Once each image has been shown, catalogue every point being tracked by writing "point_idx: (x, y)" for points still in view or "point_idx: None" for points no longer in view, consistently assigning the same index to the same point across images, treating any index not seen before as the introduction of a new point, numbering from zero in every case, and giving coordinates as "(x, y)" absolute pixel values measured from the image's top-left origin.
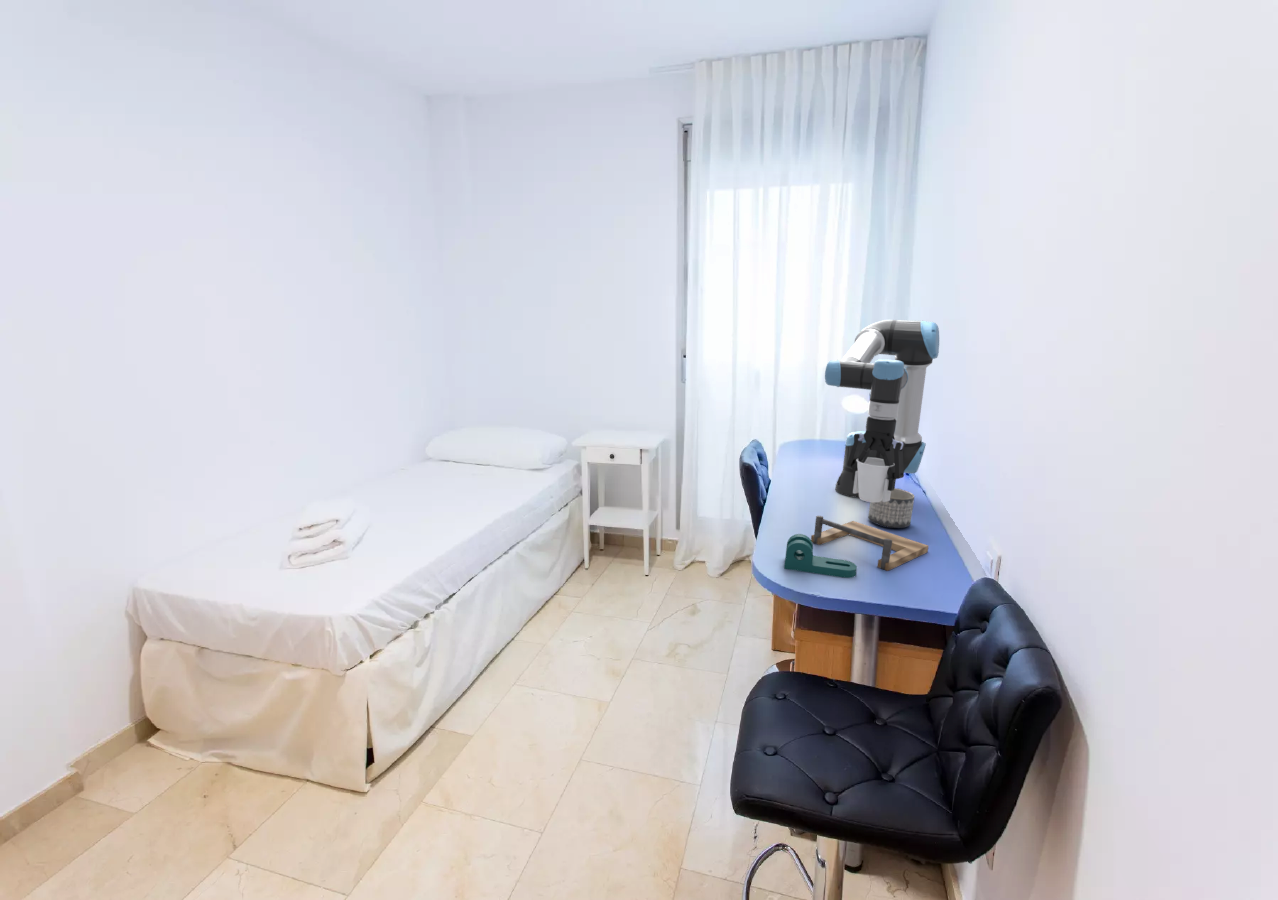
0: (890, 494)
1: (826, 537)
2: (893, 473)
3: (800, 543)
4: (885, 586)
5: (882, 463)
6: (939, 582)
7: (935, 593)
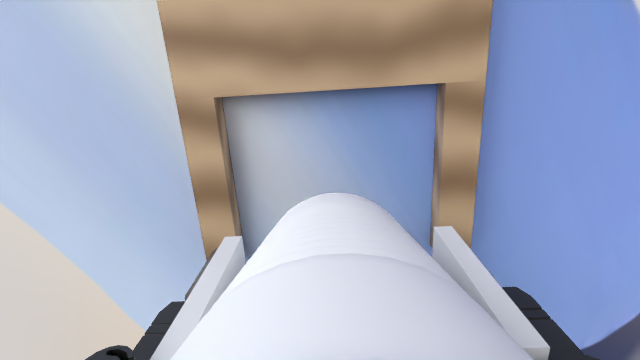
0: (468, 249)
1: (235, 231)
2: None
3: None
4: None
5: (326, 329)
6: (592, 189)
7: (602, 257)
